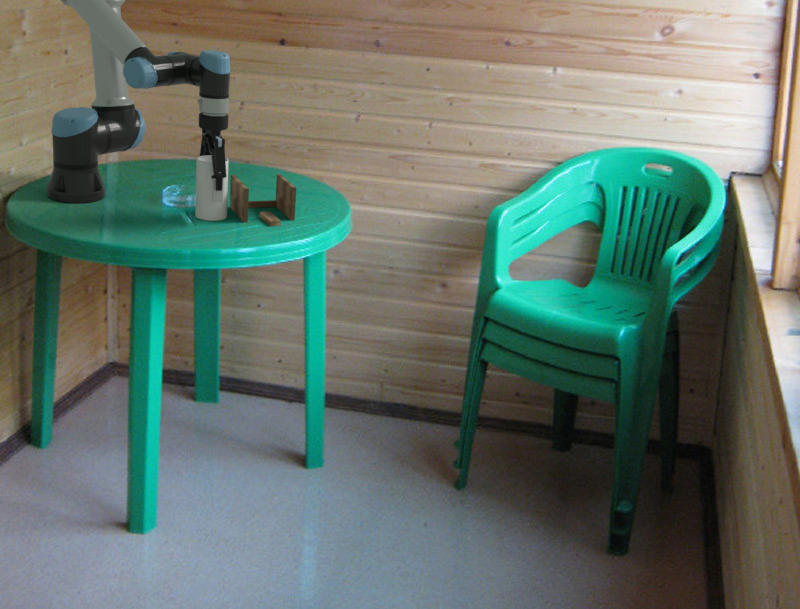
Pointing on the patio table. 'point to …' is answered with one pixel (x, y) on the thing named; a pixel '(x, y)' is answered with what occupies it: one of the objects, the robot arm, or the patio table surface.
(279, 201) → the rack
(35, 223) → the patio table surface
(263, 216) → the offcut slab upper
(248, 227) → the patio table surface
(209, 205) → the cup
